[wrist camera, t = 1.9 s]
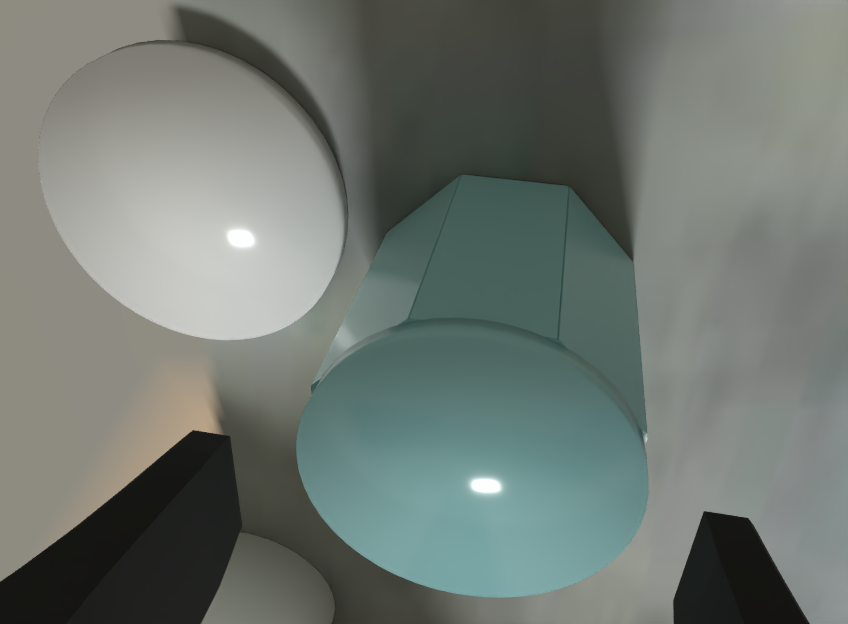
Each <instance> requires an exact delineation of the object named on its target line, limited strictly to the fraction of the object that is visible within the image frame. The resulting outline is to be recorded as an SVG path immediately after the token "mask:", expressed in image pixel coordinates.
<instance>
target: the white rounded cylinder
mask: <svg viewBox="0 0 848 624" xmlns="http://www.w3.org/2000/svg"><path fill="white" fill-rule="evenodd" d="M334 614H335V602H334V597H333V594H332V591H331V589H330V587H329V585H328V584H327V582H326V581H325V579H324V578H323V576H322V575H321V574H320V573H319V572H318V571H317V570H316V569H315V568H314V567H313V566H312V565H311V564H310V563H309V562H308V561H306V560H305V559H304V558H302V557H301V556H300V555H298V554H297V553H295V552H293V551H292V550H290V549H288V548H286V547H284V546H282V545H280V544H278V543H276V542H273V541H271V540H268V539H266V538H262V537H259V536H256V535H251V534H247V533H241V532H240V533H239V535H238V538H237V541H236V544H235V547H234V550H233V552H232V555H231V558H230V561H229V563H228V566H227V569H226V571H225V574H224V576H223V579H222V582H221V584H220V587H219V589H218V591H217V593H216V595H215V597H214V599H213V601H212V603H211V605H210V607H209V609H208V611H207V613H206V615H205V617H204V619H203V621H202V623H201V624H331V623H332V620H333V617H334Z"/></svg>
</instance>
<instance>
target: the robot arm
mask: <svg viewBox="0 0 848 624" xmlns="http://www.w3.org/2000/svg"><path fill="white" fill-rule="evenodd" d="M241 527H242V522H241V515H240V507H239V500H238V493H237V485H236V478H235V471H234V463H233V456H232V449H231V442H230V436H226V435H220V434H213V433H207V432H201V431H194V430H193V431H192V432H190V433H189V434H188V435H187V436H185V437H184V438H183V439H182V440H180V441H179V442H178V443H177V444H175V445H174V446H173V447H172V448H171V449H169V450H168V451H167V452H166V453H165V454H164V455H163V456H161V457H160V458H159V459H158V460H156V461H155V462H154V463H153V464H152V465H151V466H149V468H147V469H146V470H145V471H143V472H142V473H141V474H140V475H139V476H137V477H136V478H135V479H134V480H133V481H132V482H130V483H129V484H128V485H127V486H126V487H125V488H123V489H122V490H121V491H120V492H118V493H117V494H116V495H115V496H113V497H112V498H111V499H110V500H108V501H107V502H106V503H105V504H103V505H102V506H101V507H100V508H98V509H97V510H96V511H95V512H93V513H92V514H91V515H90V516H88V517H87V518H86V519H85V520H83V521H82V522H81V523H80V524H79V525H77V526H76V527H75V528H73V529H72V530H71V531H69V532H68V533H67V534H66V535H64V536H63V537H61V538H60V539H59V540H57V541H56V542H55V543H53V544H52V545H51V546H49V547H48V548H47V549H45V550H44V551H43V552H41V553H40V554H38V555H37V556H36V557H35V558H33V559H32V560H30V561H29V562H28V563H26V564H25V565H24V566H22V567H21V568H19V569H18V570H17V571H15V572H14V573H13V574H11V575H10V576H8V577H6V578H5V579H4V580H3V581H1V582H0V624H201V623H202V621H203V619H204V617H205V615H206V613H207V611H208V609H209V607H210V605H211V603H212V601H213V599H214V597H215V595H216V593H217V591H218V589H219V587H220V584H221V582H222V579H223V576H224V574H225V571H226V569H227V566H228V563H229V561H230V558H231V555H232V552H233V550H234V547H235V544H236V541H237V538H238V535H239V533H240V530H241ZM673 607H674V624H810V623H809V622H808V620H807V618H806V617H805V615H804V613H803V612H802V610H801V608H800V607H799V605H798V603H797V602H796V600H795V598H794V597H793V595H792V593H791V591H790V590H789V588H788V586H787V585H786V583H785V581H784V579H783V578H782V576H781V574H780V572H779V571H778V569H777V567H776V565H775V563H774V562H773V560H772V558H771V556H770V554H769V553H768V551H767V549H766V547H765V545H764V544H763V542H762V540H761V538H760V536H759V534H758V533H757V531H756V529H755V527H754V525H753V524H752V523H751V521H750V520H749V519H748V518H744V517H738V516H731V515H725V514H719V513H712V512H706V511H704V513H703V516H702V519H701V521H700V524H699V527H698V530H697V533H696V536H695V539H694V542H693V545H692V548H691V551H690V554H689V556H688V559H687V562H686V565H685V568H684V571H683V574H682V577H681V580H680V583H679V586H678V588H677V591H676V594H675V597H674V600H673Z"/></svg>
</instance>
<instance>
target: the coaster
mask: <svg viewBox="0 0 848 624" xmlns="http://www.w3.org/2000/svg"><path fill="white" fill-rule="evenodd" d="M38 163H39V175H40V180H41V186H42V191H43V195H44V197H45V201H46V204H47V207H48V210H49V213H50V215H51V217H52V219H53V221H54V224H55V226H56V228H57V230H58V231H59V233H60V235H61V237H62V239H63V240H64V242H65V244H66V246H67V247H68V248H69V250H70V251H71V253H72V254H73V255H74V257H75V258H76V260H77V261H78V262H79V263H80V264H81V266H82V267H83V268H84V269H85V270H86V271H87V272H88V274H89V275H90V276H91V277H92V278H93V279H94V280H95V281H96V282H97V283H98V284H99V285H100V286H101V287H102V288H103V289H105V290H106V291H107V292H108V293H109V294H111V295H112V296H113V297H114V298H116V299H117V300H118V301H119V302H121V303H122V304H124V305H125V306H127V307H128V308H130V309H131V310H133V311H134V312H136V313H137V314H139V315H141V316H143V317H145V318H147V319H149V320H151V321H152V322H154V323H157V324H159V325H161V326H164V327H166V328H169V329H171V330H174V331H177V332H181V333H184V334H187V335H191V336H196V337H201V338H206V339H217V340H242V339H248V338H255V337H260V336H263V335H267V334H270V333H273V332H275V331H278V330H280V329H282V328H284V327H287V326H288V325H290V324H291V323H293V322H295V321H296V320H298V319H299V318H301V317H302V316H303V315H304V314H305V313H306V312H307V311H309V310H310V309H311V308H312V307H313V306H314V305H315V303H316V302H317V301H318V300H319V298H320V297H321V296H322V295H323V293H324V291H325V289H326V288H327V286H328V284H329V282H330V280H331V279H332V277H333V275H334V273H335V272H336V270H337V268H338V266H339V263H340V260H341V258H342V255H343V252H344V248H345V243H346V238H347V230H348V208H347V197H346V193H345V188H344V184H343V179H342V176H341V173H340V171H339V168H338V165H337V162H336V160H335V157H334V155H333V153H332V151H331V149H330V147H329V145H328V143H327V141H326V139H325V138H324V136H323V135H322V133H321V132H320V130H319V129H318V127H317V126H316V124H315V123H314V121H313V120H312V118H311V117H310V116H309V115H308V114H307V112H306V111H305V110H304V109H303V108H302V106H301V105H300V104H299V103H298V102H297V101H296V100H295V99H294V98H293V97H292V96H291V95H290V94H289V93H288V92H287V91H286V90H285V89H284V88H282V87H281V86H280V85H279V84H278V83H276V82H275V81H274V80H272V79H271V78H270V77H268V76H267V75H266V74H264V73H263V72H262V71H260V70H258V69H257V68H255V67H253V66H252V65H250V64H248V63H246V62H245V61H243V60H241V59H239V58H237V57H234V56H232V55H230V54H228V53H225V52H223V51H221V50H217V49H214V48H211V47H207V46H204V45H201V44H195V43H189V42H183V41H170V40H156V41H148V42H140V43H135V44H132V45H129V46H125V47H122V48H119V49H117V50H115V51H112V52H110V53H108V54H106V55H104V56H102V57H100V58H99V59H96V60H95V61H93V62H90V63H89V64H87V65H85V66H84V67H83V68H81V69H80V70H79V71H77V72H76V73H75V74H73V75H72V76H71V77H70V78H69V79H68V80H67V81H66V82H65V84H63V86H62V87H61V88H60V89H59V91H58V92H57V94H56V95H55V97H54V98H53V100H52V101H51V103H50V105H49V108H48V110H47V113H46V115H45V117H44V120H43V124H42V128H41V133H40V137H39V149H38Z"/></svg>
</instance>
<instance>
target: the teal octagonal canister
mask: <svg viewBox="0 0 848 624" xmlns="http://www.w3.org/2000/svg"><path fill="white" fill-rule="evenodd" d="M311 391H312V394H311V397H310V399H309V401H308V403H307V405H306V407H305V409H304V412H303V415H302V417H301V420H300V422H299V428H298V433H297V438H296V456H297V463H298V469H299V473H300V476H301V479H302V482H303V485H304V488H305V490H306V492H307V494H308V496H309V498H310V500H311V502H312V504H313V505H314V507H315V508H316V510H317V511H318V513H319V514H320V516H321V517H322V518H323V520H324V521H325V522H326V523H327V524H328V525H329V527H330V528H331V529H332V530H333V531H334V532H335V533H336V534H337V535H338V536H339V537H340V538H341V539H342V540H343V541H344V542H345V543H346V544H348V545H349V546H350V547H352V548H353V549H354V550H355V551H357V552H358V553H359V554H361V555H362V556H364V557H365V558H367V559H368V560H370V561H371V562H373V563H375V564H376V565H378V566H380V567H382V568H383V569H385V570H387V571H389V572H391V573H393V574H395V575H397V576H400V577H402V578H405V579H407V580H410V581H412V582H414V583H417V584H420V585H424V586H427V587H430V588H433V589H437V590H441V591H446V592H450V593H455V594H462V595H469V596H476V597H494V598H498V597H520V596H528V595H536V594H540V593H545V592H549V591H554V590H557V589H560V588H563V587H566V586H569V585H572V584H574V583H577V582H579V581H581V580H583V579H585V578H587V577H589V576H591V575H593V574H594V573H596V572H598V571H599V570H601V569H602V568H604V567H605V566H607V565H608V564H609V563H610V562H611V561H613V560H614V559H615V558H616V557H617V556H618V555H619V554H620V553H621V552H622V551H623V550H624V549H625V547H626V546H627V545H628V544H629V543H630V542H631V540H632V538H633V537H634V535H635V533H636V532H637V530H638V528H639V526H640V524H641V521H642V519H643V516H644V514H645V510H646V505H647V499H648V468H647V455H646V449H645V444H646V440H647V437H648V436H647V424H646V411H645V399H644V386H643V374H642V361H641V349H640V336H639V324H638V311H637V299H636V286H635V274H634V264H633V261H632V260H631V259H630V258H629V256H628V255H627V254H626V253H625V252H624V250H623V249H622V248H621V247H620V246H619V245H618V243H617V242H616V241H615V240H614V239H613V237H612V236H611V235H610V234H609V233H608V231H607V230H606V229H605V228H604V227H603V225H602V224H601V223H600V222H599V221H598V219H597V218H596V217H595V216H594V215H593V214H592V212H591V211H590V210H589V209H588V208H587V206H586V205H585V204H584V203H583V202H582V200H581V199H580V198H579V197H578V196H577V194H576V193H575V192H574V191H573V190H572V188H571V187H569V186H564V185H554V184H545V183H536V182H527V181H518V180H509V179H500V178H491V177H482V176H472V175H463V174H462V176H461V175H460V176H458V177H457V178H456V179H455V180H453V181H452V182H451V183H449V184H448V185H447V186H446V187H444V188H443V189H442V190H441V191H439V192H438V193H437V194H435V195H434V196H433V197H432V198H430V199H429V200H428V201H426V202H425V203H424V204H423V205H421V206H420V207H419V208H418V209H416V210H415V211H414V212H412V213H411V214H410V215H409V216H407V217H406V218H405V219H403V220H402V221H401V222H400V223H398V224H397V225H396V226H394V227H393V228H392V229H391V230H389V231H388V232H387V233H386V235H385V237H384V239H383V241H382V243H381V246H380V248H379V250H378V252H377V254H376V256H375V258H374V260H373V262H372V264H371V266H370V268H369V270H368V272H367V274H366V276H365V278H364V280H363V282H362V284H361V286H360V288H359V290H358V292H357V294H356V296H355V298H354V300H353V302H352V304H351V306H350V308H349V310H348V312H347V314H346V316H345V318H344V320H343V322H342V325H341V327H340V329H339V331H338V333H337V335H336V337H335V339H334V341H333V343H332V345H331V347H330V349H329V351H328V353H327V355H326V357H325V359H324V361H323V363H322V365H321V367H320V369H319V371H318V373H317V375H316V377H315V379H314V381H313V383H312V385H311Z"/></svg>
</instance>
